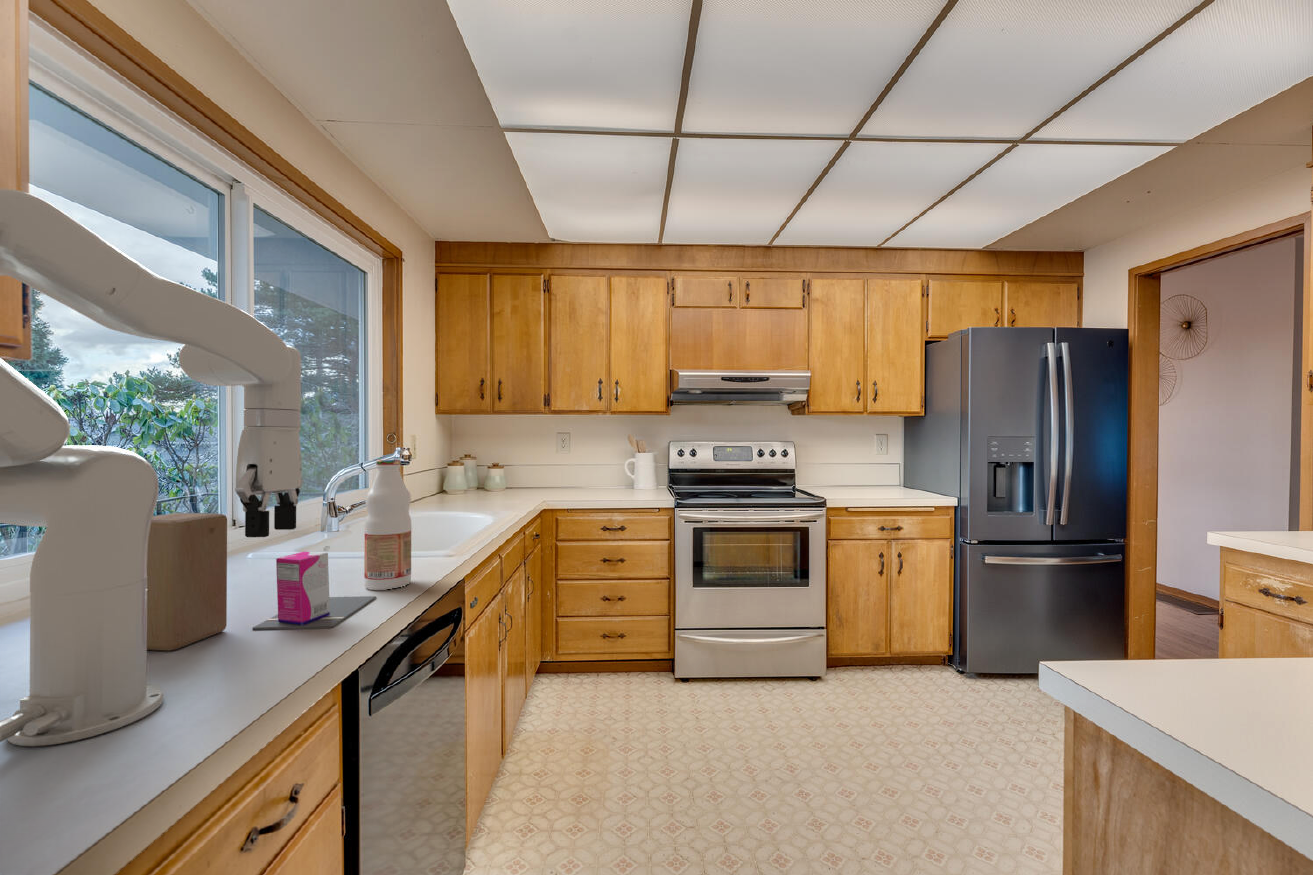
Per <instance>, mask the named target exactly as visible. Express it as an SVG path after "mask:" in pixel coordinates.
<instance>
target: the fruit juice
mask: <svg viewBox="0 0 1313 875" xmlns="http://www.w3.org/2000/svg"><path fill="white" fill-rule="evenodd" d="M401 465H402V462H401V459H377V460H376V468H377V471H376V475H375V477H374V480H373V483H372V485H371V487H370V489H369V491H368V492H367V493H366V496H365V502H364V503H365V507H366V510H367V516H366V518H365V522H364V558H363V559H364V564H363V565H364V567H363V568H364V574H363V575H364V579H363V580H364V581H363V582H364V587H365V588H366V589H367V590H369V591H388V590H387V589H391V590H393V589H392V588H396V587H401V586H404V585H406V584H408V583H411V581H412V527H413V526H412V519H411V515H410V512H409V509H410V506H411V501H412V499H411V498H412V497H411V496H412V495H411V493H410V491H409V490H408V488H407V486H406V485H405V482H404V479H403V477H402V473H401V472H400V468H401ZM404 587H405V586H404ZM401 588H402V587H401Z"/></svg>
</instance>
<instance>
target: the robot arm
mask: <svg viewBox="0 0 1313 875" xmlns="http://www.w3.org/2000/svg"><path fill="white" fill-rule="evenodd" d="M3 276H5V277H9V278H10V277H11V278H12V279H14V280H15V279H16V281H19V282H20V283H23V284H25V285H26V286H28V287H29V288H32V289H34V290H35V291H37V292H40V293H42V294H43V295H45V296H47V297H49V298H51V299H53V300H54V301H57V302H58V303H60V304H63V306H66V307H68V308H70V309H71V310H74V311H76V312H77V313H79V314H81V315H82V316H84V317H86V318H88V319H90V320H91V321H93V322H95V323H96V324H98V325H101V326H103V327H105V328H107V329H108V330H112V331H116V332H118V333H119V332H120V333H123V334H128V335H130V336H134V337H140V338H145V339H149V340H150V339H151V340H157V341H165V342H170V343H175V344H181V345H182V347H181V348H180V350H179V354H178V362H179V366H180V367H181V370H182V371H183V372H184V373H185V375H186V376H188V377H189V378H190V379H192V380H194V381H196V382H198V383H200V384H203V385H206V386H207V385H208V386H213V387H214V386H215V387H219V386H220V387H231V386H233V387H235V386H242V387H243V397H244V398H243V429H242V430H241V435H240V438H239V442H238V448H237V456H236V468H235V488H234V491H235V493H236V494H237V497H239V501H240V503H241V505H242V510H243V512H244V513H245V514H244V516H245V517H244V535H245V538H266V537H268V536H270V510H267V507H268V503H269V500H270V497H271V494H273V493H274V497H275V500H276V504H277V505H274V508H273V510H274V512H273V513H274V514H273V518H274V520H273V522H274V524H273V529H274V530H276V531H277V530H278V531H284V530H285V531H286V530H288V531H289V530H295V529H296V528H297V505H298V504H299V498H298V497H299V496H300V492H301V488H302V486H303V485H304V480H303V477H302V453H301V450H302V449H301V448H302V447H301V440H300V433H299V432H300V431H301V414H302V412H301V411H302V410H301V406H302V405H301V403H302V402H301V400H302V399H301V398H302V396H301V392H302V390H301V389H302V388H301V386H302V382H301V381H302V356H301V352H300V351H299V350H298V349H297V348H296V347H294V346H291V345H287V344H286V343H285V342H284V341H283V339H282V338H281V337H280V336H279V335H278V334H277V333H276V332H274V331H273V330H272V329H270V328H269V327H268V326H266V325H265V324H264V323H262V322H260V321H259V320H258V319H257V318H255V317H254V316H253V315H251V314H250V313H248V312H246V311H244V310H242V309H240V308H238V307H237V306H235V305H232V304H231V303H228V302H225V301H223V300H221V299H218V298H216V297H213V296H211V295H208V294H206V293H204V292H201V291H198V290H196V289H193V288H191V287H189V286H186V285H184V284H182V283H178V282H176V281H172V280H171V279H168V278H165V277H163V276H160V275H158V274H156V273H154V272H153V271H151V270H150V269H149V268H146V266H144V265H142V264H141V263H139V262H138V261H137V260H135V259H134V258H132V257H130V256H129V255H128V254H126V253H125V252H123V251H121V250H120V249H119V248H117V247H116V246H114V245H112V244H111V243H110V242H108V241H106V240H105V239H104V238H103V237H100V236H99V235H98V234H96V233H95V232H94V231H92V230H90V229H89V228H88V227H86V226H84V225H83V224H81V222H78V221H77V220H75V219H74V218H73V217H71V216H70V215H68V214H67V213H65V212H64V211H62V210H61V209H59V208H57V207H56V206H55V205H53V204H51V202H48V201H46V200H45V199H43V198H40V197H38V196H36V195H34V194H31V193H28V192H25V191H21V190H16V189H10V188H9V189H8V188H0V277H3ZM70 426H71V425H70V422H69V419H68V416H67V415H66V413H65V411H64V410H63V409H62V408H61V406H60V405H59V404H58V403H57V402H56V401H55V400H54V399H53V398H51V397H50V396H49V395H48V394H47V393H45V392H44V391H43V390H42V389H41V388H39V387H37V385H35V384H34V383H33V382H32V381H30V380H28V379H27V378H26V377H25V376H24V375H23V374H21V373H20V372H19V371H17V370H16V369H14V367H12V366H11V365H10V364H8V363H7V362H6V361H4V360H3V359H2V358H0V523H2V524H5V525H13V526H21V527H34V528H37V527H39V528H40V527H41V528H45V531H44V534H43V535H42V538H41V540H40V541H39V544H38V546H37V548H36V550H35V553H34V555H33V557H32V558H33V559H32V562H31V565H30V566H31V567H30V572H29V593H30V596H29V602H30V603H29V606H30V608H29V695H27V696H24V697H23V698H21V699H19V710H17V711H15V712H14V713H13V715H12V716H10V717H8V718H4V719H2V720H0V743H2V742H3V741H5V740H7V741H8V742H10V743H11V744H13V745H15V746H21V747H41V746H43V747H44V746H45V747H46V746H52V745H57V744H58V745H59V744H60V745H61V744H64V743H70V742H74V741H80V740H84V739H87V738H91V737H95V736H99V735H101V734H105V733H109V732H111V731H115V730H118V729H120V728H122V727H126V726H128V725H129V724H132V723H135V722H137V721H138V720H141V719H143V718H144V717H147V716H148V715H150V714H151V713H153V712H154V711H156V710H157V709H158V708H160V706H161V705H162V704H163V702H164V699H165V698H164V690H163V689H162V688H161V687H159V686H157V685H151V684H147V681H148V679H147V676H148V674H147V672H148V670H147V669H148V667H147V665H148V662H147V661H148V654H147V653H148V650H147V553H148V539H149V532H150V526H151V521H152V518H153V516H154V513H155V510H156V506H157V501H158V498H159V497H158V496H159V490H160V488H159V487H160V485H159V478H158V474H157V472H156V471H155V468H154V467H153V465H151V463H150V462H149V461H148V460H146V459H145V458H143V457H142V456H141V455H139V454H137V453H135V452H133V451H130V450H127V449H123V448H119V447H116V446H115V447H114V446H107V445H106V446H105V445H66V443H67V442H68V440H69V437H70V434H71V427H70ZM258 497H260V500H259V498H258Z"/></svg>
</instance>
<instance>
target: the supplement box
mask: <svg viewBox="0 0 1313 875" xmlns="http://www.w3.org/2000/svg"><path fill="white" fill-rule="evenodd" d="M275 560H276V562H275V564H276V565H275V566H276V590H277V592H276V593H277V596H276V598H277V614H278V622H281V623H289V624H295V625H302V626H303V625H305V624H308V623H310V622H313V621H315V620H318V619H321V618H323V617H326V616H328V615H330V602H329V597H330V581H329V580H330V578H329V553H328V552H322V551H321V552H320V551H317V552H316V551H306V550H305V551H300V552H296V553H293V554H289V555H285V556H281V557H277V558H276V559H275Z"/></svg>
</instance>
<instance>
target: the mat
mask: <svg viewBox="0 0 1313 875" xmlns="http://www.w3.org/2000/svg"><path fill="white" fill-rule="evenodd" d="M375 598H376V599H377V595H368V596H365V595H363V596H329V602H330V615H328V616H326V617H323V618H321V619H318V620H315V621H313V622H310V623H308V624H305V625H303V626H302V625H295V624H289V623H281V622H278V613H277V614H276V615H274V616H272V617H270V618H267V619H265V620H264V621H263V622H261V623H259V624H256V625H255V626H253V627H252V631H261V630H262V631H263V630H264V631H266V630H271V631H272V630H301V629H302V630H305V629H308V630H309V629H311V630H312V629H332V628H333V629H334V627H336V626H338V625H339V624H340V623H342V622H343V621H345V620H346V619H348V618H350V617H351V616H352V615H354V614H355V613H357V612H358V611H359V610H361V609H363V608H364V607H365V606H367V605H368V604H370V603H371V602H373V601H374V600H376V599H375ZM373 599H374V600H373ZM372 600H373V601H372Z"/></svg>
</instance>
